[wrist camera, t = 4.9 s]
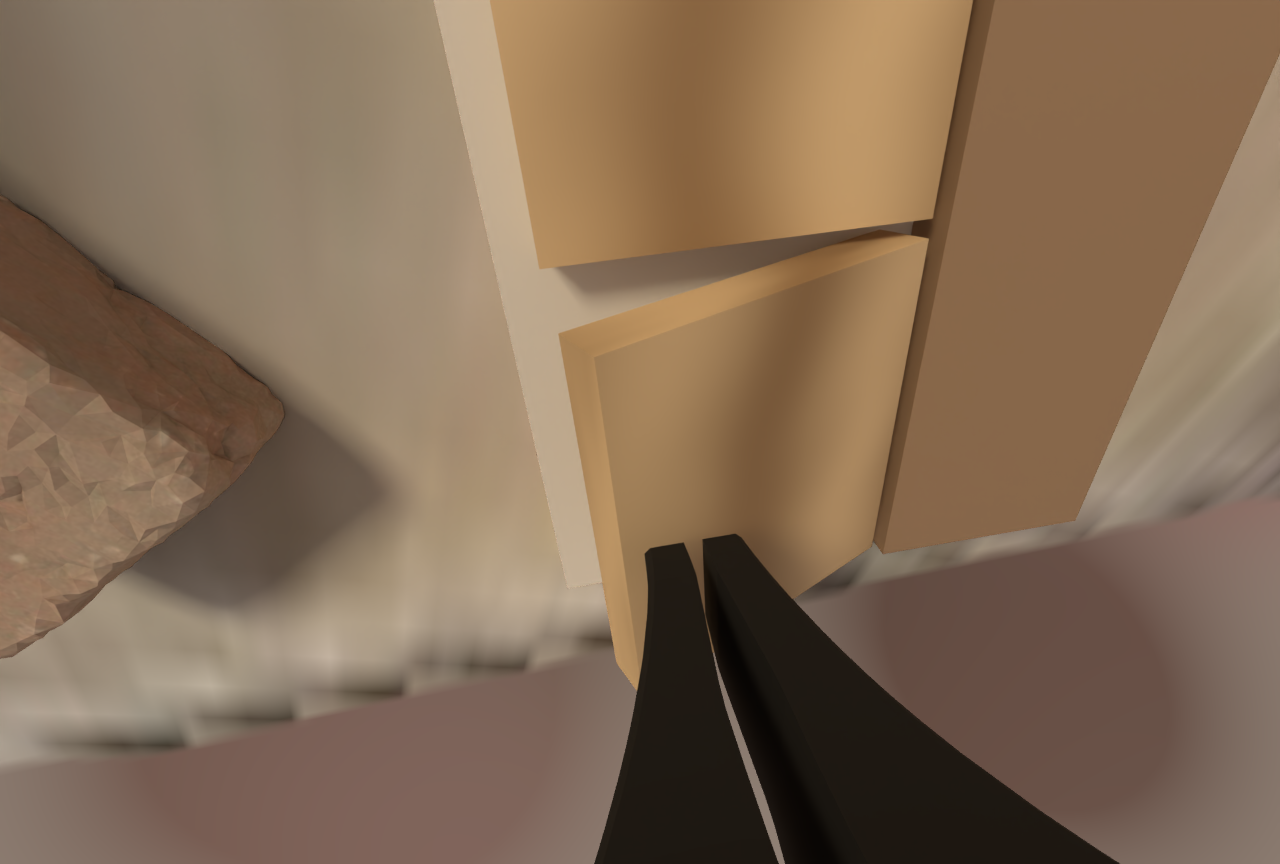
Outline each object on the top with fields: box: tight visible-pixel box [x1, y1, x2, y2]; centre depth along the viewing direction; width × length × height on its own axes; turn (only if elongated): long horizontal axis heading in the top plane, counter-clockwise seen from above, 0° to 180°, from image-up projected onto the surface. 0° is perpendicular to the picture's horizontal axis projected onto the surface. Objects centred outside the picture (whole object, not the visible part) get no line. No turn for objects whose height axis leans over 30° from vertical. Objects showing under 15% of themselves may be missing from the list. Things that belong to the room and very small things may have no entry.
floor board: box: [434, 0, 1280, 589], centre depth 13 cm, size 16×20×3 cm
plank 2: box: [558, 229, 929, 690], centre depth 13 cm, size 8×9×1 cm
